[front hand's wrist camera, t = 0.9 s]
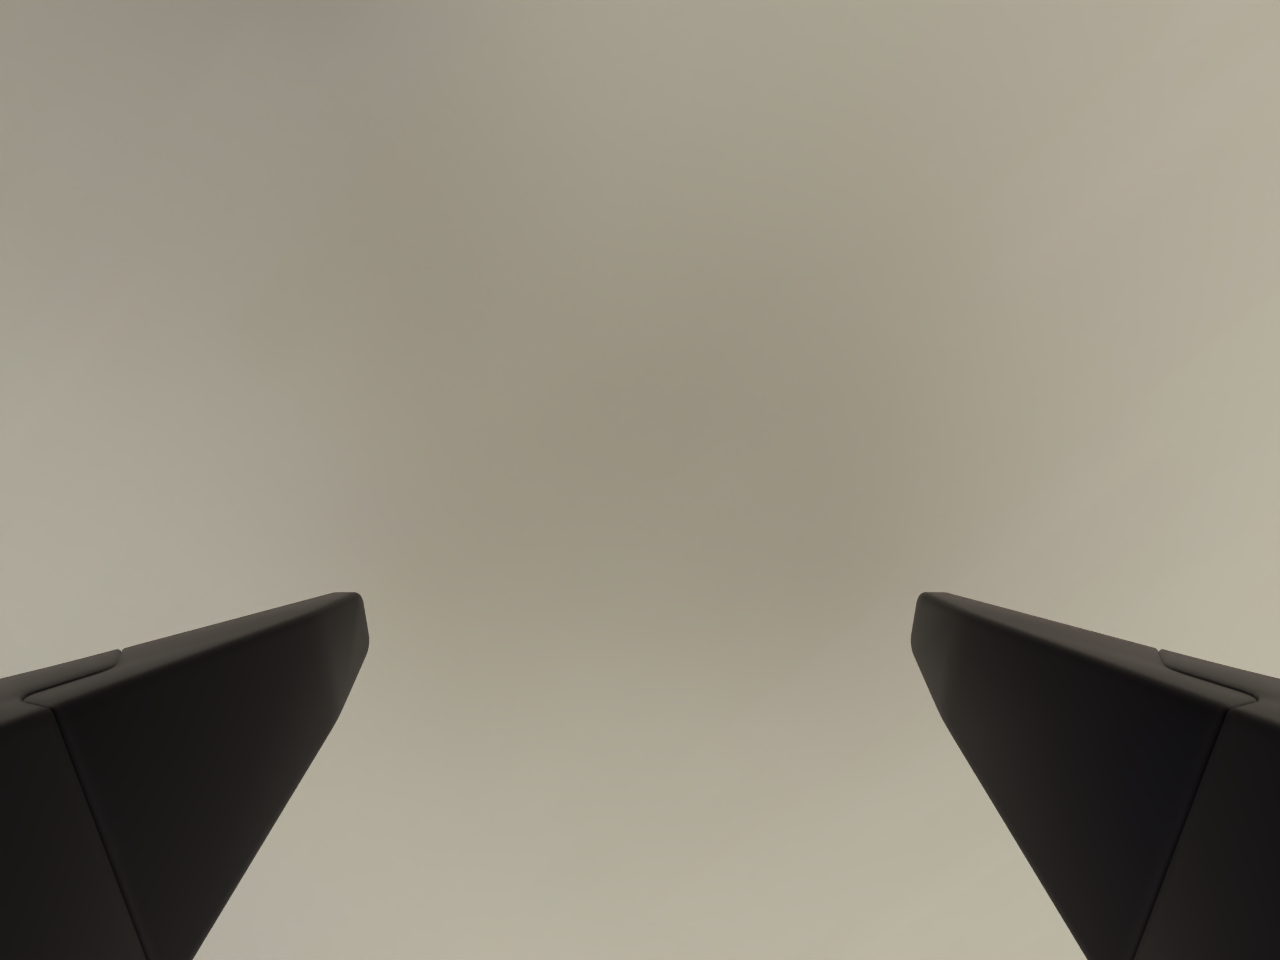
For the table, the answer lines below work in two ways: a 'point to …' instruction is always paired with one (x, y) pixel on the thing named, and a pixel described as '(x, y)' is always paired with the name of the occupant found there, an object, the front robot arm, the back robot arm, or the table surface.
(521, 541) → the table surface
